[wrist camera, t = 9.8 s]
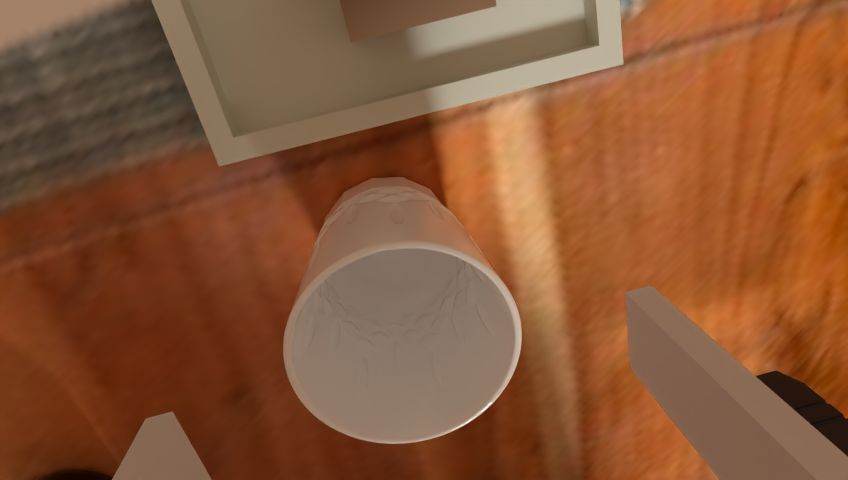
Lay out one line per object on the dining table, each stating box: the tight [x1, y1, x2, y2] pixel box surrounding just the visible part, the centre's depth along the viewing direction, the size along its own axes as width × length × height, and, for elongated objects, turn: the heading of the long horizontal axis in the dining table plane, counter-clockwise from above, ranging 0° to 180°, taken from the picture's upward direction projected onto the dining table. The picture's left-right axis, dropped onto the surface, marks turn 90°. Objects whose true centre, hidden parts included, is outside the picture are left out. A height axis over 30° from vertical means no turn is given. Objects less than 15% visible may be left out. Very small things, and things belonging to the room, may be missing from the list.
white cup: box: [283, 177, 522, 444], centre depth 21 cm, size 8×8×10 cm
